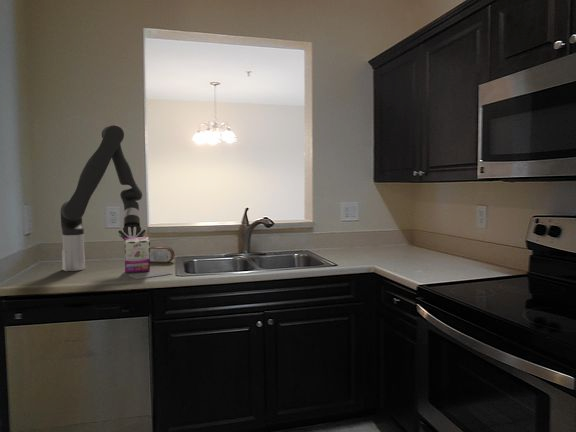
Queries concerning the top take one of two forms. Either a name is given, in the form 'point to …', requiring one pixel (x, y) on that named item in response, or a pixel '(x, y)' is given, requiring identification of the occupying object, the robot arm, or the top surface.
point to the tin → (161, 254)
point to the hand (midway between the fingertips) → (132, 247)
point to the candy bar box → (137, 254)
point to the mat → (149, 274)
